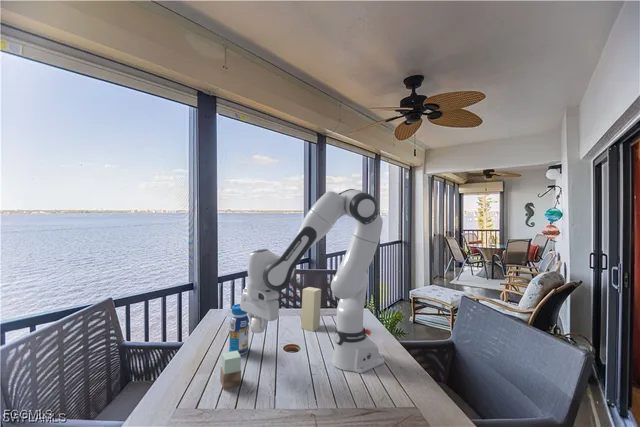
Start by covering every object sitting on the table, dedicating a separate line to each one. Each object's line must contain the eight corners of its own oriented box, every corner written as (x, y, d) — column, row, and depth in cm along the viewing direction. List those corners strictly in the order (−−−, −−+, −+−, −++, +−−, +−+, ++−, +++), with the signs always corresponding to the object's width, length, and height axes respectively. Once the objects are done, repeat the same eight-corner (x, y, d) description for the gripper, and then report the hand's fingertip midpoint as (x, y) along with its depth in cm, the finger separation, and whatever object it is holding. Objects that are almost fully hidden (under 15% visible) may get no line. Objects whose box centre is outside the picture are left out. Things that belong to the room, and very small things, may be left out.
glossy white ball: (266, 329, 119) (266, 316, 119) (260, 334, 114) (260, 320, 114) (255, 327, 120) (255, 315, 120) (248, 332, 116) (249, 319, 116)
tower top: (236, 363, 111) (237, 350, 111) (240, 370, 107) (240, 356, 107) (221, 367, 109) (222, 353, 109) (224, 374, 104) (224, 359, 104)
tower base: (237, 376, 112) (237, 363, 112) (240, 385, 106) (241, 371, 106) (220, 380, 109) (220, 366, 109) (223, 389, 104) (223, 374, 104)
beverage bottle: (229, 348, 135) (230, 303, 135) (248, 346, 137) (249, 302, 137) (228, 356, 127) (229, 309, 127) (248, 355, 129) (250, 308, 129)
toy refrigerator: (320, 327, 162) (322, 288, 162) (313, 331, 156) (314, 291, 156) (308, 324, 167) (309, 286, 167) (300, 328, 160) (302, 289, 160)
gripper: (236, 287, 122) (235, 321, 122) (268, 297, 108) (267, 336, 108) (249, 285, 127) (248, 318, 126) (282, 294, 113) (281, 331, 113)
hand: (257, 326), depth 117 cm, fingers closed on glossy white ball, 5 cm apart
